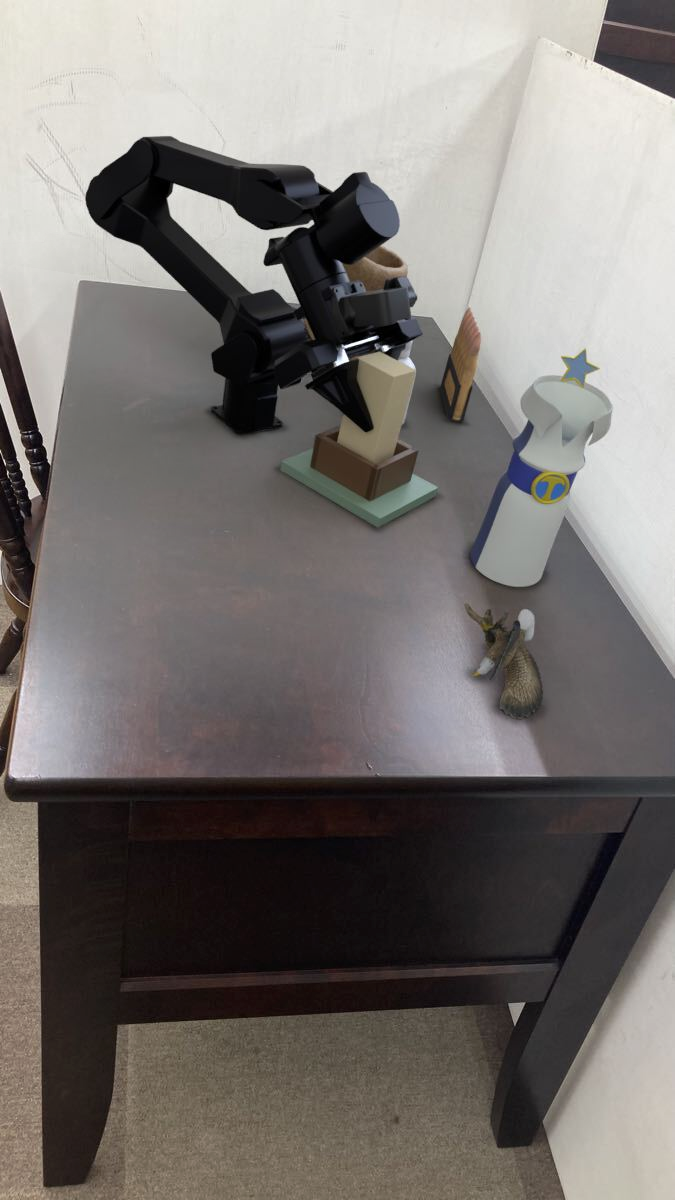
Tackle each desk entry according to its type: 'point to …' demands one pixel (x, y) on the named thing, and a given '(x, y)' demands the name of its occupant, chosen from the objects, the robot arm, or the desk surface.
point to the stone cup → (373, 272)
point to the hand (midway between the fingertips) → (383, 425)
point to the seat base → (361, 478)
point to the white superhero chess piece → (541, 474)
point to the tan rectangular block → (379, 406)
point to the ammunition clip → (461, 368)
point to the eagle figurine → (511, 661)
